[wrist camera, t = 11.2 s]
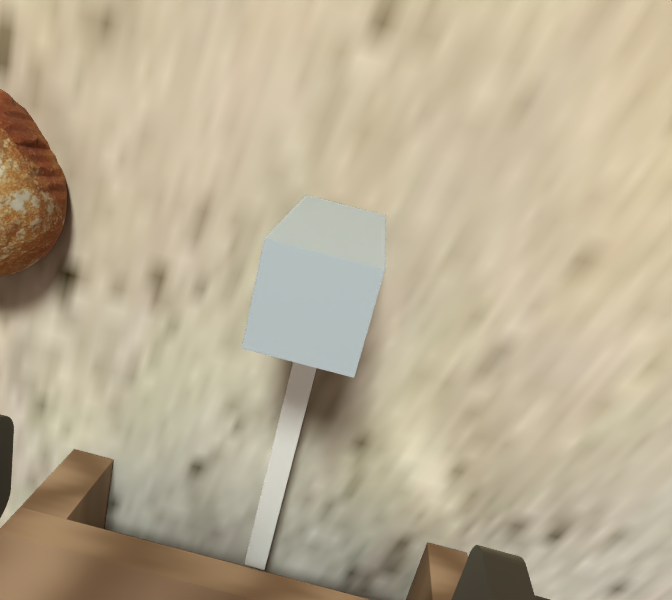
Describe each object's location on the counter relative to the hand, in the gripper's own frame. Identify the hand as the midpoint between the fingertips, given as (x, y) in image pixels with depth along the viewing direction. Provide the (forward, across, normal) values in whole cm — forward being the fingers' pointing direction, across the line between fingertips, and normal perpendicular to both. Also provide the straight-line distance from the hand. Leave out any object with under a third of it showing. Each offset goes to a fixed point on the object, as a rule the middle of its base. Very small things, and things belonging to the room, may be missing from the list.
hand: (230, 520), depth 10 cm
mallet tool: (+20, 0, +8) cm, 22 cm away
